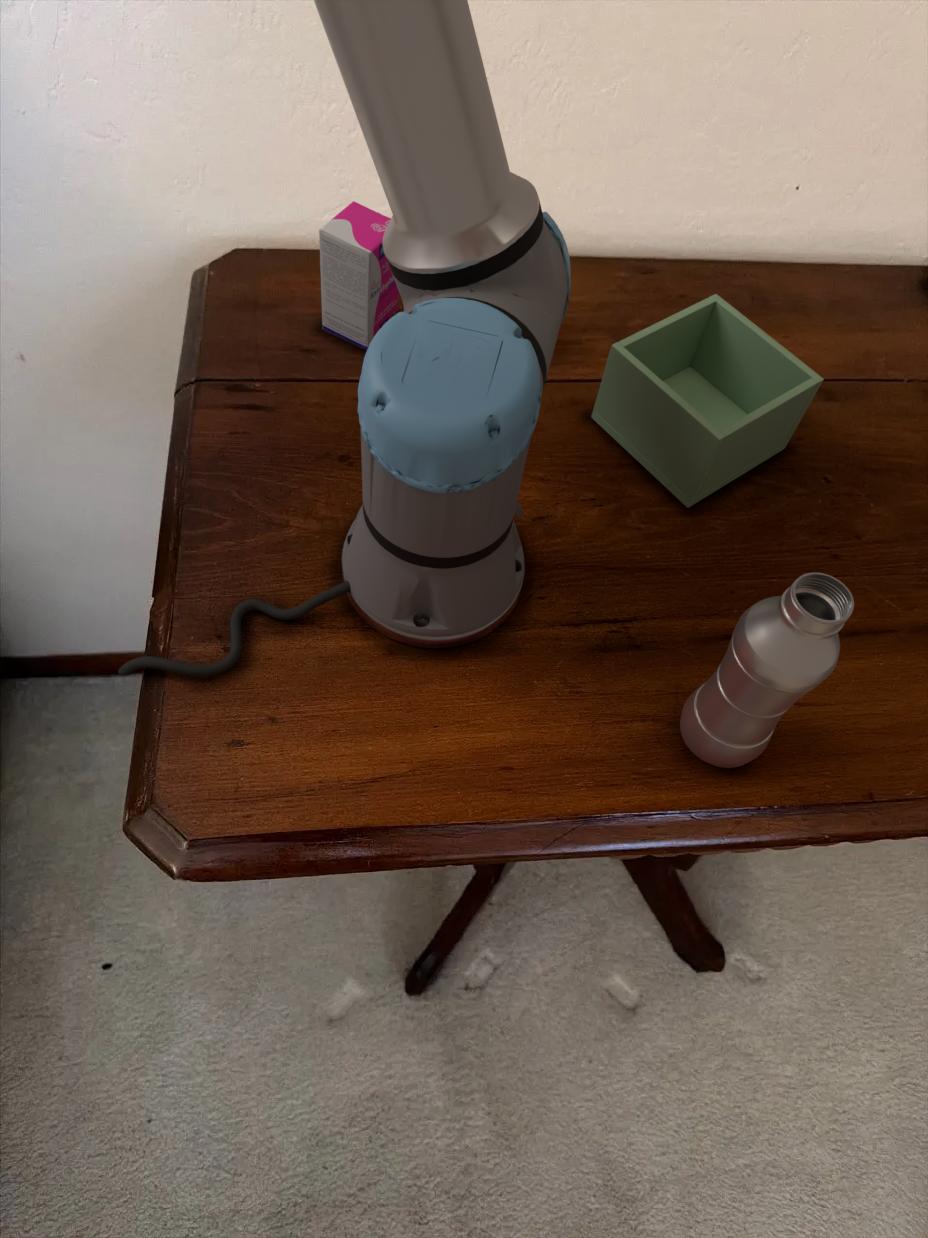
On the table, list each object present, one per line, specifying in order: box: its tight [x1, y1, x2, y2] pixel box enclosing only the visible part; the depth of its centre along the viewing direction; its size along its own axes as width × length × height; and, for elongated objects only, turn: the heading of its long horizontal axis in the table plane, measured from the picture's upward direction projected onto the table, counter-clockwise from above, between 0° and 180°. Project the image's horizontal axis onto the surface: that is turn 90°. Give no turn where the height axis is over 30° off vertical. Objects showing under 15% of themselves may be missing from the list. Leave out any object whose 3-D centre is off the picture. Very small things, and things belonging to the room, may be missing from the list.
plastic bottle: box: [679, 571, 855, 769], centre depth 60 cm, size 6×7×20 cm
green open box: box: [590, 293, 825, 508], centre depth 82 cm, size 14×14×9 cm
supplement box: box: [318, 201, 400, 351], centre depth 85 cm, size 6×6×12 cm
